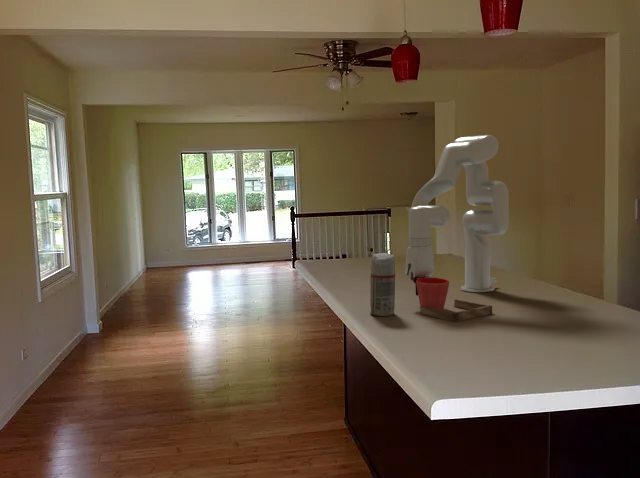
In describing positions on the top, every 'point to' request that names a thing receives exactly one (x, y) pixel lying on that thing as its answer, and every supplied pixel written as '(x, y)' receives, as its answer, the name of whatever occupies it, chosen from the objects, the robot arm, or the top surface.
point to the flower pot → (432, 292)
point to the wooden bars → (472, 311)
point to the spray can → (382, 284)
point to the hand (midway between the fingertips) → (420, 295)
